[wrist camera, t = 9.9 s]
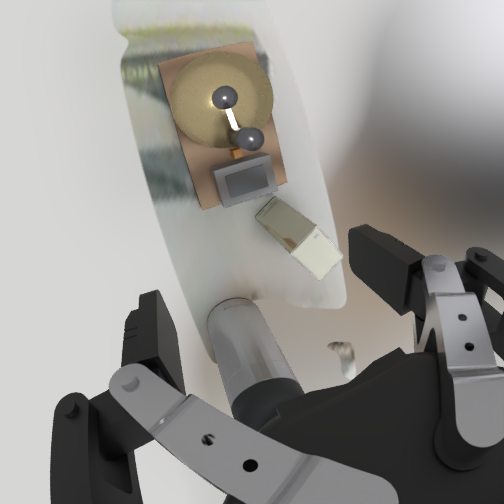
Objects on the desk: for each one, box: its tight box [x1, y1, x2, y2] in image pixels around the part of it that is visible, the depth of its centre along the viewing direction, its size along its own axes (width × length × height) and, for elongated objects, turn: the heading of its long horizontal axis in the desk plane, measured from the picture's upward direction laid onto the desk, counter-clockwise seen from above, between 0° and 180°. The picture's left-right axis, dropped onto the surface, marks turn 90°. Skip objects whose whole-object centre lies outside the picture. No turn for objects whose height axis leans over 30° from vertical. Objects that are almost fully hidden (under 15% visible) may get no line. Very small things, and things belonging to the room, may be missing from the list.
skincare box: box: [256, 196, 343, 281], centre depth 37 cm, size 6×4×12 cm
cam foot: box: [171, 51, 273, 151], centre depth 28 cm, size 12×12×8 cm
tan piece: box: [158, 41, 287, 210], centre depth 32 cm, size 20×12×5 cm, turn 14°
